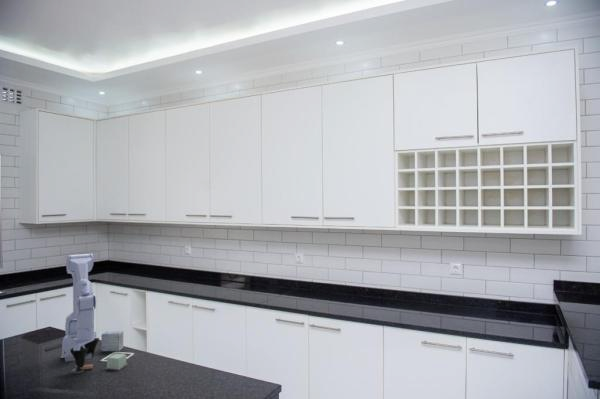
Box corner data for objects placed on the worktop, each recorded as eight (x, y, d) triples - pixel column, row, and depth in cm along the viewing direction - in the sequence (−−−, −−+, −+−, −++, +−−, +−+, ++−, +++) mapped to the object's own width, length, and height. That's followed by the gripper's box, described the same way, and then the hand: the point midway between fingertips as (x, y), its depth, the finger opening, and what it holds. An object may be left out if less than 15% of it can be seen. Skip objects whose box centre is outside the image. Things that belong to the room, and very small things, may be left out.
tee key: (64, 372, 147) (65, 357, 147) (65, 370, 149) (66, 355, 149) (91, 368, 150) (92, 353, 150) (92, 366, 152) (92, 351, 152)
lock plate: (57, 376, 147) (58, 372, 147) (81, 363, 159) (81, 359, 159) (110, 380, 144) (110, 377, 144) (130, 366, 156) (130, 363, 156)
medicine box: (123, 350, 174) (123, 330, 174) (119, 353, 169) (119, 334, 169) (105, 350, 173) (106, 330, 174) (101, 354, 169) (101, 334, 169)
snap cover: (107, 368, 151) (107, 358, 151) (115, 363, 156) (115, 353, 156) (118, 369, 151) (118, 359, 151) (126, 364, 156) (126, 354, 156)
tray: (100, 364, 158) (100, 360, 158) (114, 355, 168) (114, 351, 168) (121, 365, 157) (121, 362, 157) (134, 356, 166) (134, 353, 166)
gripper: (83, 321, 155) (83, 355, 155) (64, 333, 141) (64, 370, 141) (101, 320, 156) (101, 354, 156) (85, 333, 141) (84, 370, 141)
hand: (85, 362), depth 148 cm, fingers open, 7 cm apart
